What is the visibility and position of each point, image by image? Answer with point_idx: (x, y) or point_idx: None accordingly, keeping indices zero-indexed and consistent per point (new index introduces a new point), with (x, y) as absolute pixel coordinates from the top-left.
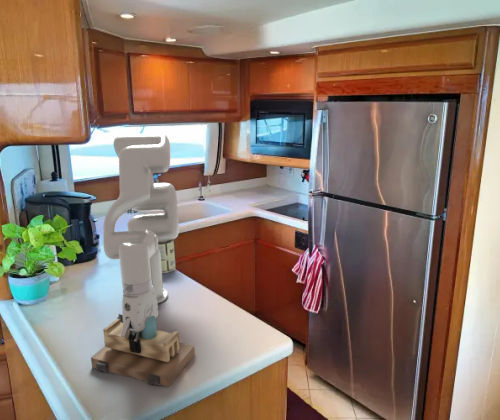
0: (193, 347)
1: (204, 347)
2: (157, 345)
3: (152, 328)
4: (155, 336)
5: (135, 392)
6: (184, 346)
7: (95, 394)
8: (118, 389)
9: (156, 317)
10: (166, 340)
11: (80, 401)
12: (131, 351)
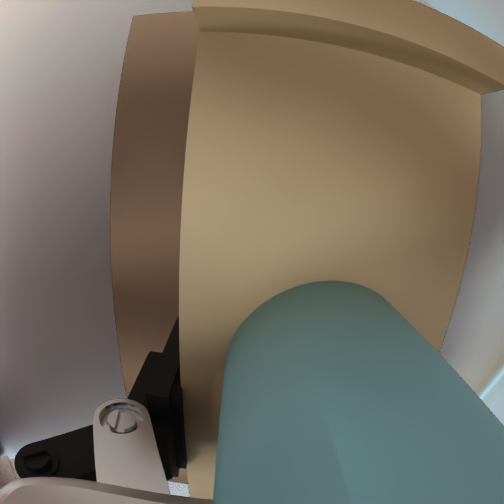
0: (145, 17)
1: (80, 37)
2: (475, 171)
3: (459, 376)
4: (337, 281)
5: (484, 221)
6: (149, 69)
7: (483, 354)
8: (472, 298)
9: (95, 489)
10: (463, 56)
11: (499, 369)
12: None
